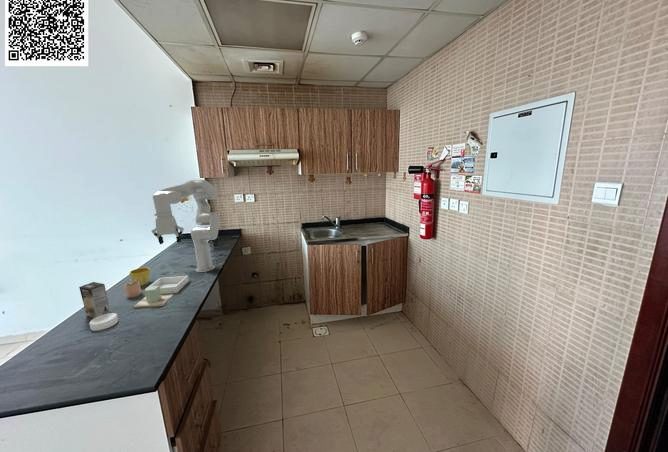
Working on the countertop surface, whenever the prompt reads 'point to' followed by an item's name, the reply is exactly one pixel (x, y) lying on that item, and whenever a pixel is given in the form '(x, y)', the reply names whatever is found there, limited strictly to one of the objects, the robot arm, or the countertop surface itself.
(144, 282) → the plant pot
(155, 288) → the sage block
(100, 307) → the coffee box
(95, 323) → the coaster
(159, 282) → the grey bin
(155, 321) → the countertop surface
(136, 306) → the pad
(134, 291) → the terracotta cup
